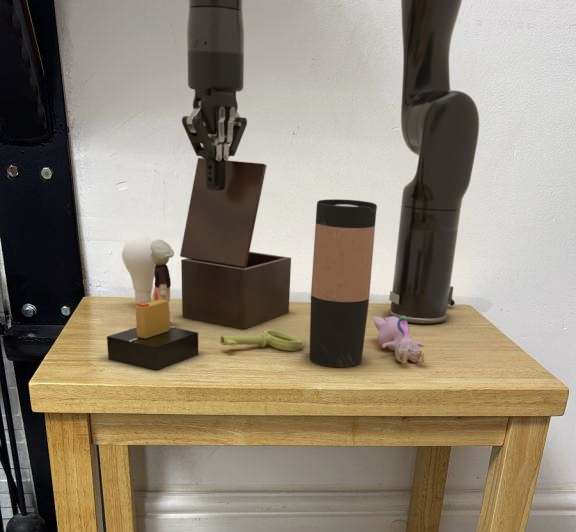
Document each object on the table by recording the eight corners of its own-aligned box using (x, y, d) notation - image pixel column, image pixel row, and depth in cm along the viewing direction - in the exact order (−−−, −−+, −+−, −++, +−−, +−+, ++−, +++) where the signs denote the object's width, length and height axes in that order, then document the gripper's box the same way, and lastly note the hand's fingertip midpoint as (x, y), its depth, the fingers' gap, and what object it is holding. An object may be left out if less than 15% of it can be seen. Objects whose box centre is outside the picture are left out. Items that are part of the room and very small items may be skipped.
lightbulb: (170, 306, 129) (168, 236, 124) (145, 312, 124) (142, 240, 119) (142, 300, 132) (139, 231, 127) (117, 306, 127) (112, 235, 122)
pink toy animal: (432, 375, 106) (398, 329, 118) (441, 334, 103) (405, 290, 114) (389, 376, 105) (359, 329, 116) (396, 335, 101) (364, 291, 113)
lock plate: (152, 343, 109) (151, 321, 108) (199, 354, 106) (198, 331, 104) (107, 359, 102) (106, 335, 100) (156, 370, 98) (155, 346, 97)
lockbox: (230, 302, 133) (230, 248, 129) (288, 312, 128) (291, 257, 124) (182, 317, 123) (181, 259, 119) (244, 329, 118) (245, 269, 114)
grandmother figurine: (145, 322, 119) (142, 235, 113) (170, 321, 120) (168, 235, 114) (154, 335, 113) (151, 244, 107) (180, 334, 114) (178, 244, 108)
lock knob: (160, 329, 105) (159, 297, 103) (169, 331, 104) (168, 298, 102) (136, 337, 101) (135, 304, 99) (145, 338, 100) (143, 305, 98)
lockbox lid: (200, 159, 116) (197, 157, 116) (266, 165, 111) (264, 163, 111) (182, 257, 119) (179, 256, 118) (246, 267, 114) (243, 266, 113)
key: (216, 351, 107) (216, 336, 106) (275, 336, 115) (276, 321, 114) (254, 363, 103) (255, 347, 102) (313, 346, 111) (314, 332, 110)
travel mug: (299, 353, 108) (306, 199, 99) (349, 350, 110) (361, 199, 101) (320, 370, 102) (330, 206, 92) (373, 366, 104) (388, 206, 95)
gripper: (210, 46, 97) (210, 195, 105) (265, 54, 107) (262, 189, 115) (162, 45, 100) (166, 190, 108) (220, 53, 111) (220, 184, 119)
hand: (215, 189), depth 112 cm, fingers closed
